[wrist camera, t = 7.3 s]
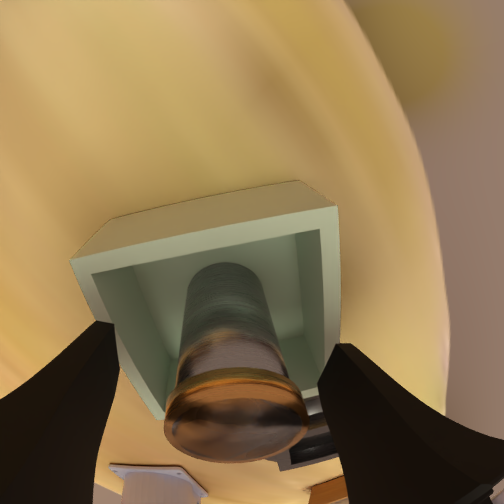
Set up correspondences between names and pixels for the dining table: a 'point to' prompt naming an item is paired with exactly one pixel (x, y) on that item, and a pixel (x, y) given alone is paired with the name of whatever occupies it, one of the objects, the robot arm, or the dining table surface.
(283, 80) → the dining table surface
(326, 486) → the soap dish
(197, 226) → the bin
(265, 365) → the jar with copper lid
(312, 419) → the mount
